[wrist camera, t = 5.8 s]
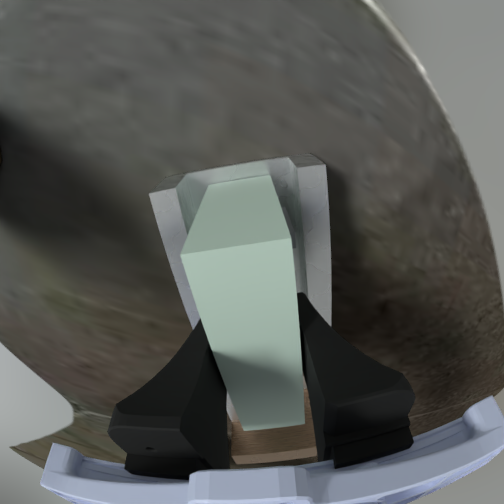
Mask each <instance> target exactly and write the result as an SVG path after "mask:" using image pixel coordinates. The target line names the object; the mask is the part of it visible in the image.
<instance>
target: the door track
mask: <svg viewBox="0 0 504 504" xmlns="http://www.w3.org/2000/svg"><path fill="white" fill-rule="evenodd" d="M268 175H270V176H271V179H272V182H273V185H274V188H275V191H276V194H277V196H278V199H279V202H280V205H281V208H283V207H286V210H287V213H288V215H289V218H290V221H291V223H292V226H293V229H294V232H295V240H296V248H294V249H292V250H293V260H294V270H295V280H296V292H297V293H299V292H303V293H305V294H306V296H307V298H308V299H309V301H310V302H311V304H312V305H313V306H314V308H315V309H316V310H317V311H318V313H319V314H320V315H321V316H322V317H323V318H324V320H325V321H326V322H327V323H328V324H329V325H330V326H331V301H332V294H331V242H330V219H329V202H328V187H327V174H326V164H324V163H323V162H322V161H321V160H319V159H318V158H317V157H315V156H314V155H313V154H311V153H307V154H298V155H290V156H282V157H274V158H267V159H260V160H254V161H247V162H241V163H235V164H229V165H223V166H218V167H212V168H207V169H202V170H197V171H192V172H187V173H182V174H177V175H172V176H168V177H165V178H164V179H163V180H162V181H161V182H160V183H159V184H158V185H157V186H156V187H155V188H154V189H153V190H152V191H151V192H150V193H149V196H150V200H151V203H152V207H153V210H154V214H155V217H156V221H157V224H158V228H159V231H160V234H161V237H162V241H163V244H164V247H165V250H166V254H167V257H168V260H169V263H170V266H171V269H172V272H173V275H174V278H175V281H176V284H177V287H178V290H179V293H180V295H181V298H182V301H183V304H184V307H185V309H186V312H187V315H188V318H189V320H190V323H191V326H192V328H193V329H194V328H195V326H196V324H197V323H198V321H199V319H200V315H199V312H198V309H197V306H196V303H195V300H194V297H193V294H192V291H191V288H190V285H189V282H188V279H187V275H186V272H185V269H184V266H183V263H182V259H181V256H180V254H181V251H182V249H183V246H184V244H185V241H186V239H187V236H188V234H189V231H190V229H191V226H192V224H193V221H194V219H195V216H196V214H197V211H198V209H199V207H200V204H201V202H202V199H203V197H204V195H205V192H206V190H207V188H208V185H212V184H218V183H224V182H229V181H235V180H242V179H248V178H254V177H261V176H268ZM302 373H303V371H302ZM303 391H304V412H305V424H301V425H294V426H287V427H279V428H271V429H261V430H249V431H244V430H243V428H242V425H241V423H240V421H239V418H238V416H237V413H236V411H235V409H234V406H233V404H232V401H231V399H230V396H229V394H228V391H227V412H228V415H229V417H230V419H231V421H232V448H231V456H232V458H233V459H234V461H235V462H236V464H253V463H266V462H276V461H285V460H293V459H300V458H306V457H313V456H317V448H316V441H315V434H314V426H313V420H312V413H311V407H310V401H309V395H308V390H307V385H306V382H305V378H304V375H303Z"/></svg>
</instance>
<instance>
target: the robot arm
mask: <svg viewBox="0 0 504 504" xmlns="http://www.w3.org/2000/svg"><path fill="white" fill-rule="evenodd" d="M297 303H298V315H299V328H300V342H301V357H302V371H303V375H304V378H305V382H306V385H307V390H308V395H309V401H310V407H311V413H312V420H313V426H314V434H315V441H316V448H317V456H318V462H316V463H310V464H304V465H297V466H275V467H264V468H250V469H230V465H229V453H228V437H227V389H226V386H225V384H224V381H223V378H222V376H221V373H220V371H219V368H218V365H217V363H216V360H215V357H214V355H213V352H212V349H211V346H210V344H209V341H208V338H207V335H206V332H205V330H204V327H203V324H202V321H201V318H200V319H199V321H198V323H197V324H196V326H195V328H194V329H193V331H192V332H191V334H190V335H189V337H188V338H187V340H186V341H185V343H184V344H183V345H182V347H181V348H180V349H179V351H178V352H177V353H176V355H175V356H174V357H173V358H172V359H171V360H170V362H169V363H168V364H167V365H166V366H165V367H164V368H163V369H162V370H161V371H160V372H159V373H158V374H157V375H156V376H155V377H153V378H152V379H151V380H150V381H149V382H148V383H146V384H145V385H144V386H143V387H141V388H140V389H139V390H137V391H136V392H134V393H133V394H132V395H130V396H128V397H127V398H125V399H124V400H122V401H120V402H119V403H117V404H116V406H115V408H114V411H113V414H112V418H111V421H110V425H109V428H108V434H109V436H110V438H111V439H112V440H113V441H114V442H115V443H116V444H117V445H118V446H120V447H121V448H122V449H123V450H124V451H125V452H126V453H127V457H126V462H125V464H120V463H114V462H109V461H104V460H99V459H94V458H89V457H85V456H83V455H82V454H81V453H80V452H79V451H77V450H76V449H74V448H72V447H69V446H65V445H61V444H58V443H53V445H52V447H51V450H50V453H49V456H48V459H47V462H46V465H45V468H44V472H43V475H42V478H41V482H40V484H41V486H43V487H45V488H46V489H48V490H50V491H51V492H53V493H55V494H57V495H58V496H60V497H62V498H64V499H66V500H68V501H70V502H71V503H74V504H407V503H409V502H412V501H414V500H416V499H419V498H421V497H423V496H425V495H428V494H430V493H432V492H434V491H436V490H438V489H441V488H442V487H445V486H447V485H449V484H451V483H452V482H454V481H456V480H458V479H460V478H462V477H464V476H466V475H467V474H469V473H471V472H473V471H475V470H476V469H478V468H480V467H482V466H483V465H485V464H487V463H488V462H489V461H490V460H492V458H494V457H495V456H496V455H497V454H498V453H500V452H501V451H502V450H503V449H504V416H503V414H502V412H501V410H500V409H499V407H498V405H497V403H496V401H495V399H494V398H493V396H489V397H487V398H485V399H483V400H481V401H479V402H477V403H475V404H474V405H472V406H471V407H469V408H468V409H467V410H466V411H465V413H464V414H463V416H462V417H461V418H459V419H457V420H455V421H452V422H450V423H448V424H445V425H443V426H441V427H438V428H436V429H433V430H431V431H428V432H426V433H423V434H421V435H418V436H415V437H412V435H411V432H410V429H409V426H410V421H409V418H408V413H409V411H410V409H411V407H412V405H413V403H414V401H415V394H414V392H413V389H412V387H411V386H410V384H409V382H408V381H407V379H406V378H405V376H404V375H403V374H402V373H400V372H398V371H396V370H393V369H391V368H389V367H386V366H384V365H382V364H380V363H378V362H377V361H375V360H373V359H371V358H370V357H368V356H367V355H365V354H364V353H362V352H361V351H359V350H358V349H356V348H355V347H354V346H352V345H351V344H350V343H348V342H347V341H346V340H345V339H344V338H342V337H341V336H340V335H339V334H338V333H337V332H336V331H335V330H334V329H333V328H332V327H331V326H330V325H329V324H328V323H327V322H326V321H325V320H324V318H323V317H322V316H321V315H320V314H319V313H318V311H317V310H316V309H315V308H314V306H313V305H312V304H311V302H310V301H309V299H308V298H307V296H306V294H305V293H303V292H299V293H297Z"/></svg>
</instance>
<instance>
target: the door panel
mask: <svg viewBox="0 0 504 504" xmlns="http://www.w3.org/2000/svg"><path fill="white" fill-rule="evenodd" d="M294 248H296V240H295V232H294V229H293V226H292V223H291V221H290V218H289V215H288V213H287V210H286V207H283V208H281V205H280V202H279V199H278V196H277V194H276V191H275V188H274V185H273V182H272V179H271V176H270V175H268V176H261V177H254V178H248V179H242V180H235V181H229V182H224V183H218V184H212V185H208V188H207V190H206V192H205V195H204V197H203V199H202V202H201V204H200V207H199V209H198V211H197V214H196V216H195V219H194V221H193V224H192V226H191V229H190V231H189V234H188V236H187V239H186V241H185V244H184V246H183V249H182V251H181V254H180V256H181V259H182V263H183V266H184V269H185V272H186V275H187V279H188V282H189V285H190V288H191V291H192V294H193V297H194V300H195V303H196V306H197V309H198V312H199V315H200V318H201V321H202V324H203V327H204V330H205V332H206V335H207V338H208V341H209V344H210V346H211V349H212V352H213V355H214V357H215V360H216V363H217V365H218V368H219V371H220V373H221V376H222V378H223V381H224V384H225V386H226V389H227V391H228V394H229V396H230V399H231V401H232V404H233V406H234V409H235V411H236V413H237V416H238V418H239V421H240V423H241V425H242V428H243V430H244V431H249V430H261V429H271V428H279V427H287V426H294V425H301V424H305V412H304V391H303V373H302V357H301V342H300V328H299V315H298V303H297V292H296V280H295V270H294V260H293V250H292V249H294Z"/></svg>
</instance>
